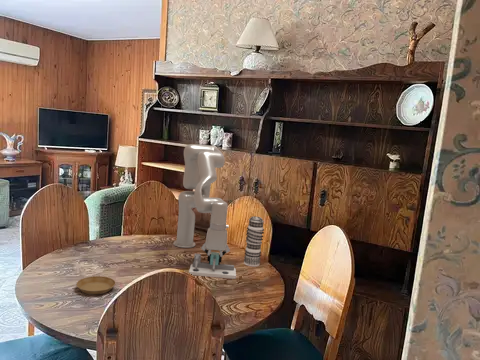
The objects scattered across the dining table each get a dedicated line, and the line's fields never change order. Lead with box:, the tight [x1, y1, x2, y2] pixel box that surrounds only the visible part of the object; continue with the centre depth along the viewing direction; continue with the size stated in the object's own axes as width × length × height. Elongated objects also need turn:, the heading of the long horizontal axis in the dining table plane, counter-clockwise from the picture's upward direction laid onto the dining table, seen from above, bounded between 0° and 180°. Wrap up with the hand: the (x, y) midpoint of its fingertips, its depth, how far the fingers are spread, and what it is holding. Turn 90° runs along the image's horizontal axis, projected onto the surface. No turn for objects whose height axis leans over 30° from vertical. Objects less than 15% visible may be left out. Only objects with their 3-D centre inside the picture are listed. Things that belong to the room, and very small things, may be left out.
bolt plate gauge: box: [188, 253, 237, 280], centre depth 185 cm, size 10×22×8 cm, turn 92°
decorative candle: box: [243, 216, 265, 267], centre depth 202 cm, size 9×9×25 cm
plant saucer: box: [76, 275, 116, 296], centre depth 155 cm, size 15×15×3 cm
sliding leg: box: [210, 251, 220, 271], centre depth 185 cm, size 8×4×7 cm, turn 2°
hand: (214, 262), depth 187 cm, fingers closed on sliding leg, 4 cm apart
